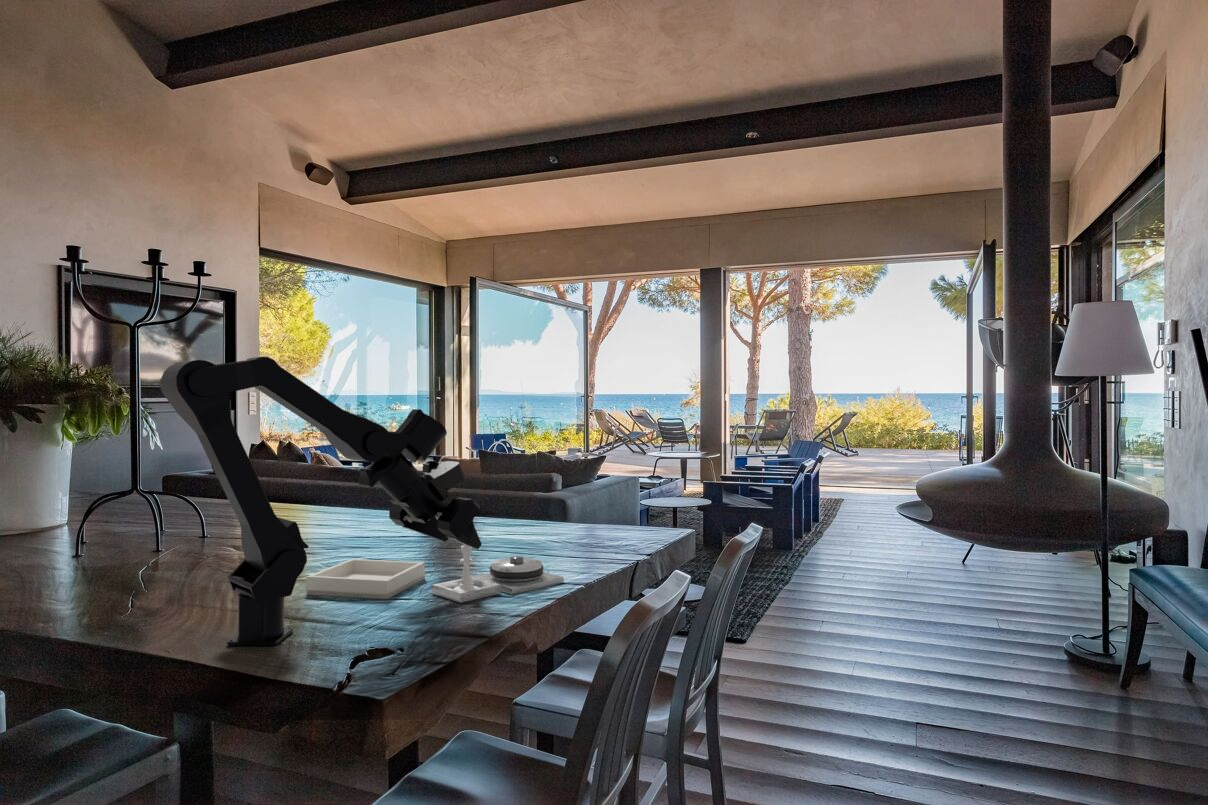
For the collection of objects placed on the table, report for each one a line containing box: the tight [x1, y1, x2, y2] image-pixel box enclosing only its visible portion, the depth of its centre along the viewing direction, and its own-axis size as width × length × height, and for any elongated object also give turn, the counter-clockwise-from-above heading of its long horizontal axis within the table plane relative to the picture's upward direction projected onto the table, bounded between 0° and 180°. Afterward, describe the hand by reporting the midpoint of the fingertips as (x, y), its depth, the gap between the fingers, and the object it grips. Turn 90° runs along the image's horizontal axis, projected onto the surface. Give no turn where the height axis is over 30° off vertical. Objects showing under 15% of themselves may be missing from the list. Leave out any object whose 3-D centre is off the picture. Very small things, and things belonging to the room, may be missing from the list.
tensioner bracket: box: [431, 555, 565, 604], centre depth 130 cm, size 21×12×4 cm, turn 136°
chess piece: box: [454, 544, 479, 592], centre depth 125 cm, size 5×5×10 cm
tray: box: [305, 558, 426, 600], centre depth 130 cm, size 15×15×3 cm
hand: (462, 543), depth 125 cm, fingers open, 9 cm apart
